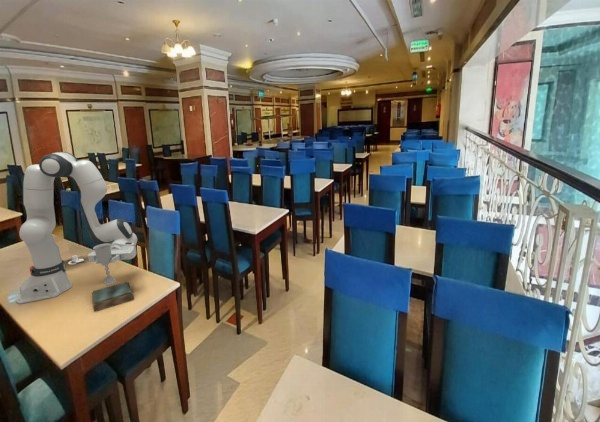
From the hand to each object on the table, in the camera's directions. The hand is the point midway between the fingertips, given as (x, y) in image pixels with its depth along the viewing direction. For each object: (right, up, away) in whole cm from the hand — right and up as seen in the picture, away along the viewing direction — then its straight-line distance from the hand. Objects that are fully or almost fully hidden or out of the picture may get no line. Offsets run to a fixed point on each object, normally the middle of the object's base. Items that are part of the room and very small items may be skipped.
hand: (104, 261), depth 146 cm
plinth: (+1, -19, +6) cm, 20 cm away
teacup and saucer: (-49, -10, +48) cm, 69 cm away
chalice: (0, -10, +4) cm, 11 cm away
